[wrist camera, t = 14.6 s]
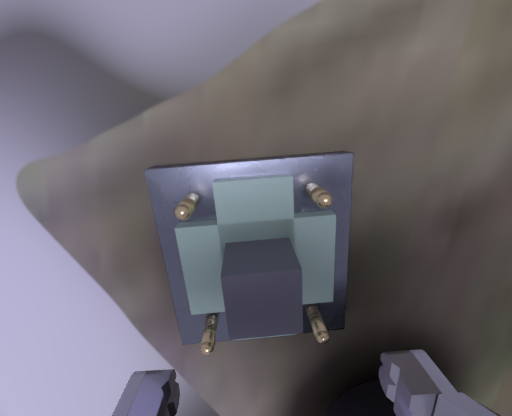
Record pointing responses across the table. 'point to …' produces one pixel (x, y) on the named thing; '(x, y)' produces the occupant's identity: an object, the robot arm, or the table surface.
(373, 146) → the table surface
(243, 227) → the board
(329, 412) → the coal bowl
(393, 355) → the robot arm
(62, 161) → the table surface
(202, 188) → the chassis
